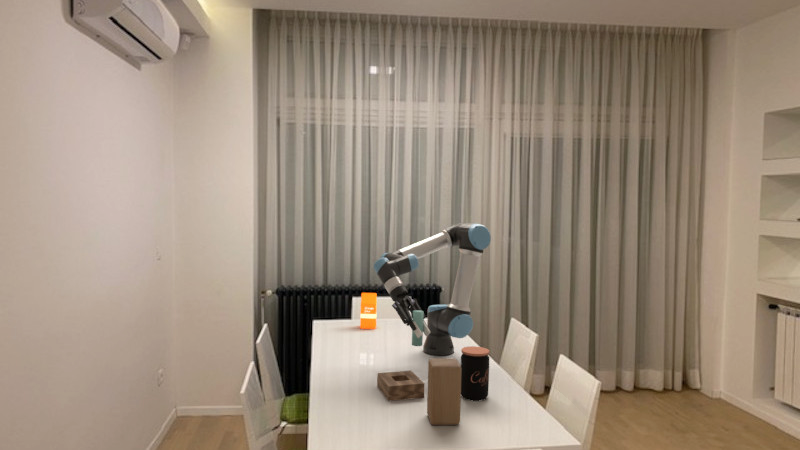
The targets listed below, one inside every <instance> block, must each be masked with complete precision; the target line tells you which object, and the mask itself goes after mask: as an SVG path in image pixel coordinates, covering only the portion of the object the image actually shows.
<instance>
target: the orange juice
mask: <svg viewBox="0 0 800 450" xmlns="http://www.w3.org/2000/svg"><path fill="white" fill-rule="evenodd" d="M377 293H378V292H377ZM377 293H376V292H361V296H360V299H361V300H360V323H359V325H360V327H359V328H360V329H361V330H363V329H368V330H369V329H370V330H371V329H372V330H376V328H377V315H378V314H377V310H378V309H377V307H378V306H377V305H378V304H377V303H378V301H377V300H378V299H377V298H378V297H377V296H378V295H377Z"/></svg>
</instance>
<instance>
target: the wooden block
mask: <svg viewBox="0 0 800 450" xmlns="http://www.w3.org/2000/svg"><path fill="white" fill-rule="evenodd" d="M427 364H428V366H427V367H428V368H427V402H426V403H427V404H426V407H427V408H426V409H427V410H426V414H427V416H428V419H429V422H430V424H431V425H432V426H436V425H437V426H445V425H447V426H448V425H449V426H451V425H452V426H453V425H460V423H461V401H462V400H461V398H462V396H461V364H460V363H459V361H458V360H457V359H456V358H429V359H428V362H427Z"/></svg>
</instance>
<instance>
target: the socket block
mask: <svg viewBox="0 0 800 450" xmlns="http://www.w3.org/2000/svg"><path fill="white" fill-rule="evenodd" d="M376 375H377V379H376V380H377V381H376V387H377V388H378V389H379V391H380V392H381V393H382V395H383V396H384V397H385V398H386V399H387V401H388V402H393V401H401V400H402V401H404V400H411V399H412V400H415V399H424V398H425V382H424V381H423V380H422V379H421V378H420V377H418V375H416V374H415V373H414V372H413V370H399V371H389V372H388V371H387V372H377V374H376Z"/></svg>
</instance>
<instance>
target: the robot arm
mask: <svg viewBox="0 0 800 450" xmlns="http://www.w3.org/2000/svg"><path fill="white" fill-rule="evenodd" d="M491 236H492V235H491V233H490V231H489V229H488V227H486V226H485V225H484V224H480V223H474V222H473V223H472V222H470V223H469V222H459V223H455V224H453V225H451V226H448V227H446V228H443V229H441V230H440V231H439V233H437V234H434V235H432V236H429V237H427V238H425V239H423V240H419V241H418V242H415V243H412V244H410V245H407V246H405V247H403V248H400V249H398V250H395V251H392V252H385V253H383V254H382V255H381V256H380V257H379V259H377V260H376V261H375V262H374V263H373V270H374V272H375V274H376V276H377V277H378V278H379V281H380V282H381V283H382V285H383V286H384V289H386V291H387V293H388V295H389V296H390V299H391V300H392V302H393V303H392V304H391V307H392V308H393V309H394V310H395V311H396V313H397V315H398V316H399V318H400V319H401V321H402V323H403V324H404V325H406V327H410V328H411V331H412V330H413V331H414V333H415V334H416V336H417V338H420V337H421V336H422V335H423V334H424V335H423V336H425V337H426V338H425V340H424V342H423V345H422V347H423V348H422V351H423V352H424V353H425V354H428V355H433V356H447V355H448V356H449V355H452V354H453V353H454V352H455V346H454V342H453V339H452V338H456V339H463V338H466V337H467V336H468V335H470V333H471V332H472V331H473V327H474V321H473V319H472V317H471V312H472V310H471V308H470V307H469V306H470V301H471V296H472V291H473V287H474V286H473V285H474V282H475V277H476V272H477V267H478V264H479V263H478V262H479V259H480V258H479V257H481V256H482V255H483V254H484V250H485V249H487V247H489V246H490V244H491V241H492V238H491ZM453 247H458V251H459V252H460V256H459V261H458V267H457V271H456V276H455V279H454V283H453V284H454V286H453V290H452V295H451V299H450V303H449V304H443V303H442V304H432V305H429V306H428V308H427V311H426V312H427V318H426V315H425V313H424V315H423V334H422V332H421V330H420V329H419V327H418V325H417V324H416V322H415V321H413V316H412V315H413V311H414V310H421V311H423V310H422V308H421V307H420V305H419V303H418V300H417V298H414V299H412V298H411V297H410V296H409V291H408V289H407V288H406V286H405V285H404V282H403V281H402V280H401V278H400V276H403V275H405V274H408V273H411V272H413V271H416V270H418V268H419V266H420V263H419V259H422V258H424V257H426V256H429V255H431V254H434V253H436V252H438V251H440V250H443V249H450V248H453ZM411 314H412V315H411ZM425 319H427V320H426V321H427V322H426V321H425Z"/></svg>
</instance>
